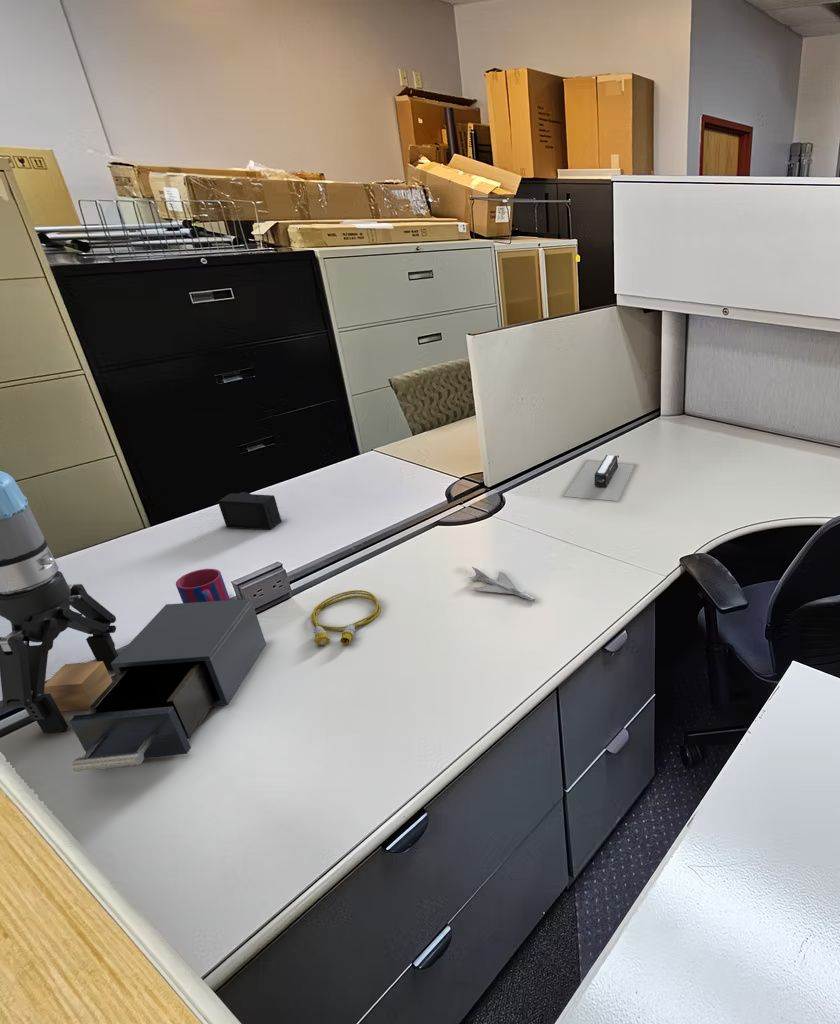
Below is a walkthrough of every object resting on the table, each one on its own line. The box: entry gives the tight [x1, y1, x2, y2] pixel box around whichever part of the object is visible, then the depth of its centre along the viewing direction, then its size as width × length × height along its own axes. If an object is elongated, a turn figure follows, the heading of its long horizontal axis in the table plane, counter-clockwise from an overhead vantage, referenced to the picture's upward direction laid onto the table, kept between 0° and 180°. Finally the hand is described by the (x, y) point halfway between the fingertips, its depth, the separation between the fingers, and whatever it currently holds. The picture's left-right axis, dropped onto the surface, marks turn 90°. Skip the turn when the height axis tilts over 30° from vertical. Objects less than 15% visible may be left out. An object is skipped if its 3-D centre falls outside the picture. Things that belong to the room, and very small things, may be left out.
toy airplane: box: [465, 566, 536, 602], centre depth 126 cm, size 8×21×2 cm, turn 60°
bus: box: [564, 454, 635, 502], centre depth 174 cm, size 14×25×4 cm, turn 174°
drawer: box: [68, 661, 219, 772], centre depth 86 cm, size 18×11×8 cm, turn 11°
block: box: [44, 661, 113, 713], centre depth 94 cm, size 5×5×5 cm
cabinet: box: [111, 598, 267, 707], centre depth 98 cm, size 15×13×10 cm
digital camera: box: [217, 491, 282, 531], centre depth 143 cm, size 10×5×7 cm, turn 89°
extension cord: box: [310, 589, 381, 646], centre depth 114 cm, size 12×16×2 cm
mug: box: [175, 568, 231, 603], centre depth 113 cm, size 7×10×7 cm
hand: (86, 697), depth 95 cm, fingers open, 12 cm apart
